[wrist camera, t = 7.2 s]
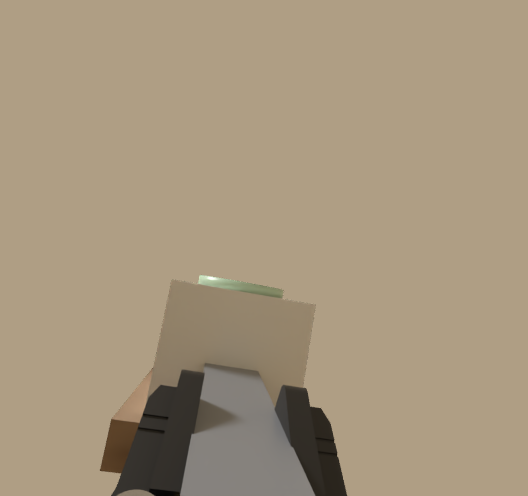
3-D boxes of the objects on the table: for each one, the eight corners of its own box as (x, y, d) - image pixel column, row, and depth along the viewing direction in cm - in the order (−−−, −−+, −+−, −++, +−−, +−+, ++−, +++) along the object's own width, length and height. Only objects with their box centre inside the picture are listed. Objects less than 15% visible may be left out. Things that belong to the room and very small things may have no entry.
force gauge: (-2, 654, 5) (98, 239, 6) (169, 370, 24) (188, 274, 24) (425, 680, 6) (463, 306, 7) (271, 385, 24) (286, 292, 25)
